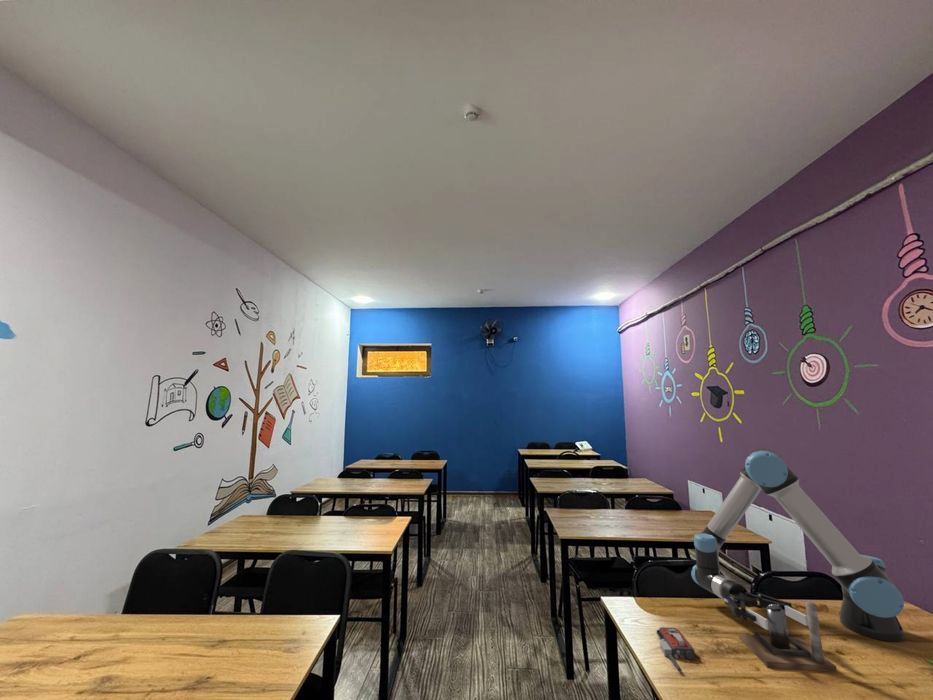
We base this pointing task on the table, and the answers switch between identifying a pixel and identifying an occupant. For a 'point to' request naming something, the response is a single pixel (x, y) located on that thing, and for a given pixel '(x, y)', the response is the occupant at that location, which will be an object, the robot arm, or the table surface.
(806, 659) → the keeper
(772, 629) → the grey metal canister
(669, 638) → the walkie-talkie
